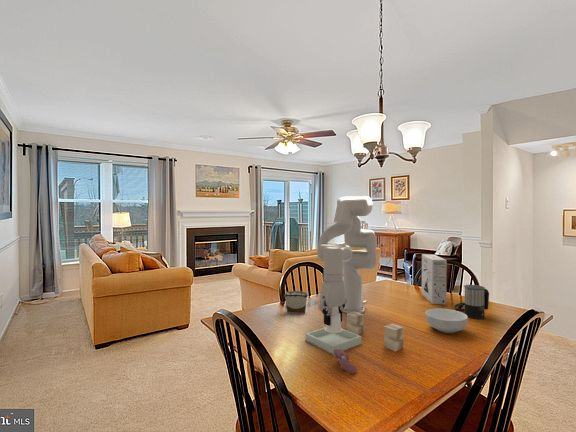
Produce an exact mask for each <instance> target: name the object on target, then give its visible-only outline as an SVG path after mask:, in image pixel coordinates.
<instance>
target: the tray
mask: <svg viewBox="0 0 576 432" xmlns="http://www.w3.org/2000/svg"><path fill="white" fill-rule="evenodd" d="M325 328H326V326H323V327H322V328H319V329H315V330H313V331H309V332H305V334H304V335H305V336H304V338H305V342H307V343H308V344H310V345H313V346H314V347H317V348H319V349H321V350H323V351H325V352H327V353H328V354H331V355H333V356H334V350H335V349H338V348H340V349H341V350H343V351H344V352H345V351H347V350H349V349H352V348H354V347H357V346H359V345H361V344H362V335H360V334H359V335H357V334H354V333H352V332H349V331H347V329H343V328H342V329H343V330H342V331H341V332H339V333H329V332H326V331H325Z"/></svg>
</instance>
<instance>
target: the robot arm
mask: <svg viewBox="0 0 576 432" xmlns="http://www.w3.org/2000/svg"><path fill="white" fill-rule="evenodd" d="M372 211H373V200H372V198H371V197H370V196H341V197H339V198H338V199H337V201H336V209H335V212H334V213H335V214H334V218H333V223H332V224H331V225H330V226H328V227H327V228H326V229H325V230H324V231H323V232H322V233H321V235H320V237H319V239H318V245H317V250H316V255H317V258H318V260H320V261H322V262H323V281H321V286H320V293H319V305H318V306H317V308H318V310H320V312H321V314H322V315H323V323H324V325H325V326H326V325H328V326H330V325H331V316H330V315H329V314H330V310H331V308H333V307H336V306H338V307H339V309H338V310H339V313H340V318H341V323H343V313H345V314H347V313H351V312H354V311H355V312H358V313H361V314H364V313H365V311H366V309H365V307H364V305H367V304H368V301H367V300H363V294H362V293H363V277H362V274H361V272H360V271H359V270H368V271H369V270H375V268H376V265H377V236H376V233H375V232H374V230H372V229H362V220H361V217H366V216H369V215H370V214H371V212H372ZM342 235H344V237H343V238H344V244H339V243H329V242H330V241H332V240H333V239H335V238H338V237H340V236H342ZM352 248H353V249H352ZM357 249H358V250H357ZM361 249H365V250H361ZM327 308H328V309H327Z"/></svg>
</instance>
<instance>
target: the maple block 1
mask: <svg viewBox="0 0 576 432" xmlns="http://www.w3.org/2000/svg"><path fill="white" fill-rule="evenodd" d="M364 316H365V315H364V313H358V312H355V311H354V312H351V313H346V330H347V331H349V332H352V333H354V334H357V335H359V336H360V335H361V334H364Z"/></svg>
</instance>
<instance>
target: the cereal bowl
mask: <svg viewBox="0 0 576 432" xmlns="http://www.w3.org/2000/svg"><path fill="white" fill-rule="evenodd" d="M425 320H426V322H427V324H428V325H430V327H432V328H434V329H436V330H437V331H439V332H441V333H445V334H454V333H457V332H460V331H462V330H465V328H467V325H468V324H469V323H468V322H469V317H467V315H466V314H464V312H463V311H459V310H456V309H450V308H437V307H436V308H429V309H427V310H426V311H425Z"/></svg>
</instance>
